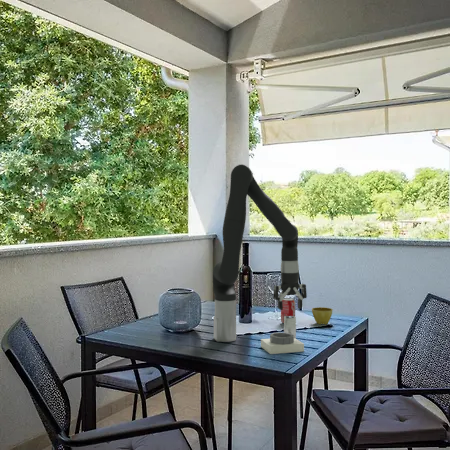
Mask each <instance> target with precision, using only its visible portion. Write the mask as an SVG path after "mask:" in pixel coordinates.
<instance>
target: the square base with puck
mask: <svg viewBox="0 0 450 450" xmlns="http://www.w3.org/2000/svg"><path fill="white" fill-rule="evenodd" d="M260 348H262V349H263V350H265V352H267V353H269V354H270V355H274V354H276V355H277V354H287V353H298V352H299V353H300V352H302V353H303V352H305V343H304V342H302V341H300V340H298V339H297V337H296V338H294V335H293V334H291V333H285V332H284V331H282V332H281V331H280V332H273V333H271V334H270V335H269V338H261V339H260Z"/></svg>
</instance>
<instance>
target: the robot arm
mask: <svg viewBox="0 0 450 450" xmlns="http://www.w3.org/2000/svg"><path fill="white" fill-rule="evenodd" d="M229 187H230V188H229V196H228V201H227V205H226V209H225V214H224V218H223V225H222V241H223V242H222V243H223V253H222V258H221V261H220V262H219V261H218V263H216V264H215V265H214V267H213V270H212V286H213V287H212V289H213V294H214V316H213V340H215V341H216V342H218V343H219V342H221V343H222V342H223V343H226V342H227V343H228V342H229V343H230V342H234V341H236V340H237V293H236V290H235V287H234V283H235V282H237V280H238V277H239V270H240V256H241V249H242V246H243V245H242V244H243V239H244V233H245V227H246V220H247V198H248V197H249V198H250V199H251V201H252V202H254V204H255V206H256V207H257V208H258V210H259V211H260V212H261V214H262V215H263V216H264V218H266V219H267V221H268V222H269V223H270V224H271V225H272V227H273V228H274V229H275V230H276V231H275V232H277V233H278V235H279V236H280V237H281V239H282V240H281V241H282V244H281V245H282V247H281V254H280V256H281V257H280V258H281V259H280V261H281V262H280V283H281V284H280V285H276V284H274V285H273V300H276V301H277V308H278V309H279V310H280V311H281V310H283V301H282V300H283V298H286V296H296V297H297V309H302V308H303V300H304V299H307V297H308V296H307V295H308V294H307V293H308V292H307V285H306V284H305V283H301V284H300V278H299V277H300V273H299V272H300V270H299V267H300V266H299V253H298V245H299V244H298V241H299V230H298V227H297V226H296V225H294V224H293V223H292V222H290V220H289V219H288V218H287V217H286V216H285V213H284V212H283V211H282V210H281V208H280V207H279V206H278V205H277V204H276V203H275V201H274V200H273V199H272V198H271V197H270V196H269V195H268V194H267V193H266V192H265V191H264V190H263V189H262V188H261V186H260V185H259V183H258V181H256V179H255V177H254V174H253V172H252V170H251V168H250V167H249V166H248V165H246V164H238V165H236V166H234V168H232V170H231V172H230V186H229ZM247 196H248V197H247ZM299 289H300V290H301V293H300V291H299ZM280 290H281V292H280V293H279V291H280Z"/></svg>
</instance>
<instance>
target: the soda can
mask: <svg viewBox="0 0 450 450" xmlns="http://www.w3.org/2000/svg"><path fill="white" fill-rule="evenodd" d="M282 301H283V310H280V322H281V323H284V317H285V316H294V317H296V302H295V298H292V297H291V298H290V297H284V298H283V300H282Z"/></svg>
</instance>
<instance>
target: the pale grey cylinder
mask: <svg viewBox="0 0 450 450" xmlns="http://www.w3.org/2000/svg"><path fill="white" fill-rule="evenodd" d="M283 332H285V333H291V334H293V335H294V338H296V339H297V316H295V317H294V316H285V317H284V324H283Z"/></svg>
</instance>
